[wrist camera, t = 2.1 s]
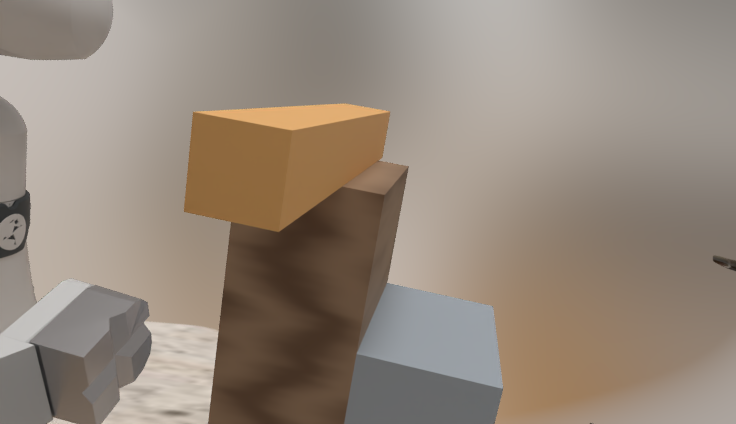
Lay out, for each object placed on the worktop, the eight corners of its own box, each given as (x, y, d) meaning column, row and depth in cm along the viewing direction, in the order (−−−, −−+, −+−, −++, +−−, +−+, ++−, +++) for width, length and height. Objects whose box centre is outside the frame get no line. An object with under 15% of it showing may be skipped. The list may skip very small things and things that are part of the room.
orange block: (183, 211, 19) (193, 112, 19) (337, 149, 43) (345, 103, 42) (278, 232, 19) (292, 130, 18) (382, 157, 42) (390, 111, 41)
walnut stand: (192, 565, 35) (237, 165, 29) (260, 449, 47) (302, 146, 41) (312, 601, 34) (384, 194, 28) (351, 474, 46) (408, 166, 40)
